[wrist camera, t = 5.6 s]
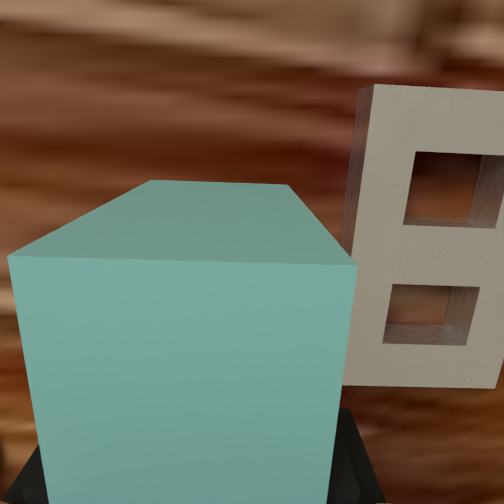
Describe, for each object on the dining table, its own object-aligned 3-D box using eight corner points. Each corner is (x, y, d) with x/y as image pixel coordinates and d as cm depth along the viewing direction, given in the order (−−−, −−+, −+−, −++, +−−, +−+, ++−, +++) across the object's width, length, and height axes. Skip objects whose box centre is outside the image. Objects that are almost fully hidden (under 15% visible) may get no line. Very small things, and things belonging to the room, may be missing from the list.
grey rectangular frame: (470, 364, 30) (494, 388, 28) (324, 361, 30) (333, 385, 27) (539, 100, 24) (579, 95, 22) (358, 89, 24) (374, 84, 21)
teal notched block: (268, 472, 14) (291, 767, 8) (163, 472, 14) (94, 772, 8) (287, 184, 11) (357, 265, 4) (150, 179, 11) (6, 255, 4)
